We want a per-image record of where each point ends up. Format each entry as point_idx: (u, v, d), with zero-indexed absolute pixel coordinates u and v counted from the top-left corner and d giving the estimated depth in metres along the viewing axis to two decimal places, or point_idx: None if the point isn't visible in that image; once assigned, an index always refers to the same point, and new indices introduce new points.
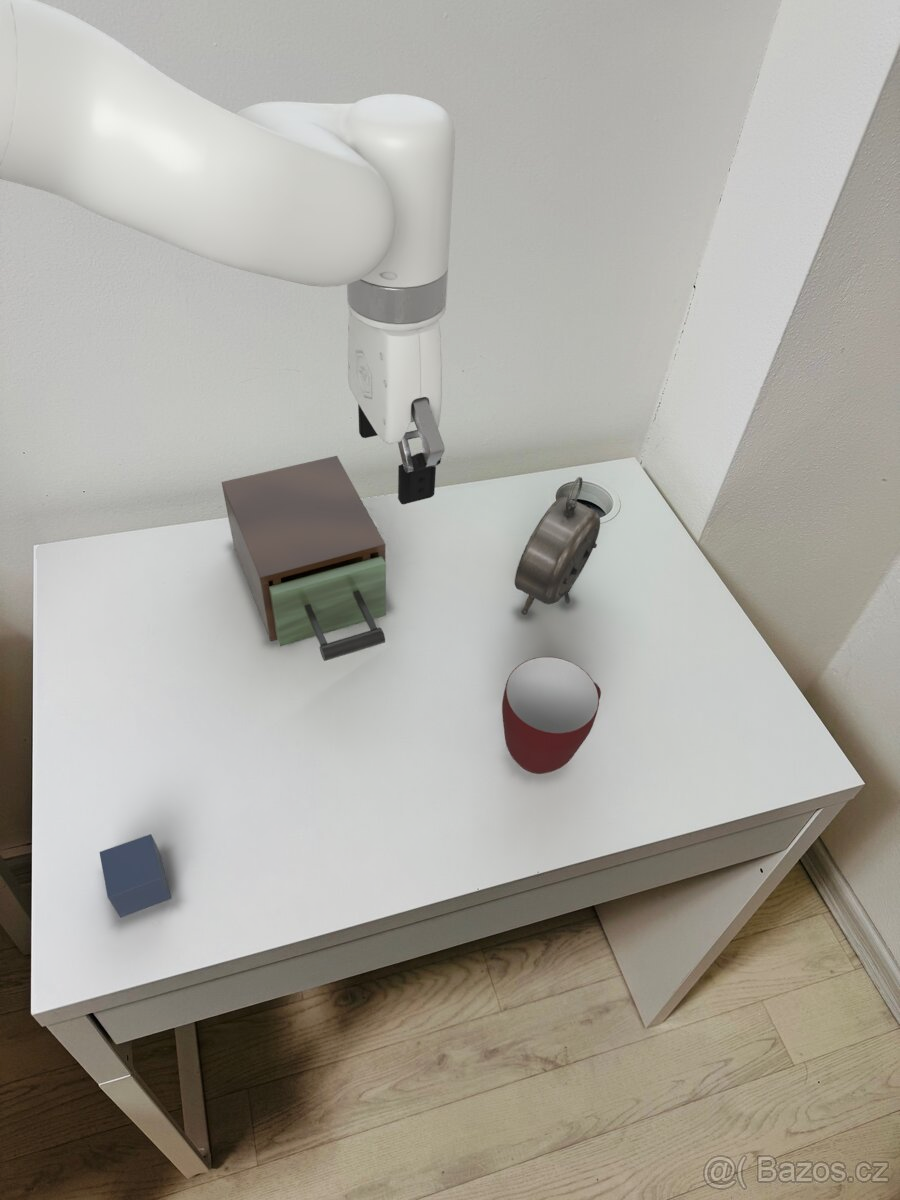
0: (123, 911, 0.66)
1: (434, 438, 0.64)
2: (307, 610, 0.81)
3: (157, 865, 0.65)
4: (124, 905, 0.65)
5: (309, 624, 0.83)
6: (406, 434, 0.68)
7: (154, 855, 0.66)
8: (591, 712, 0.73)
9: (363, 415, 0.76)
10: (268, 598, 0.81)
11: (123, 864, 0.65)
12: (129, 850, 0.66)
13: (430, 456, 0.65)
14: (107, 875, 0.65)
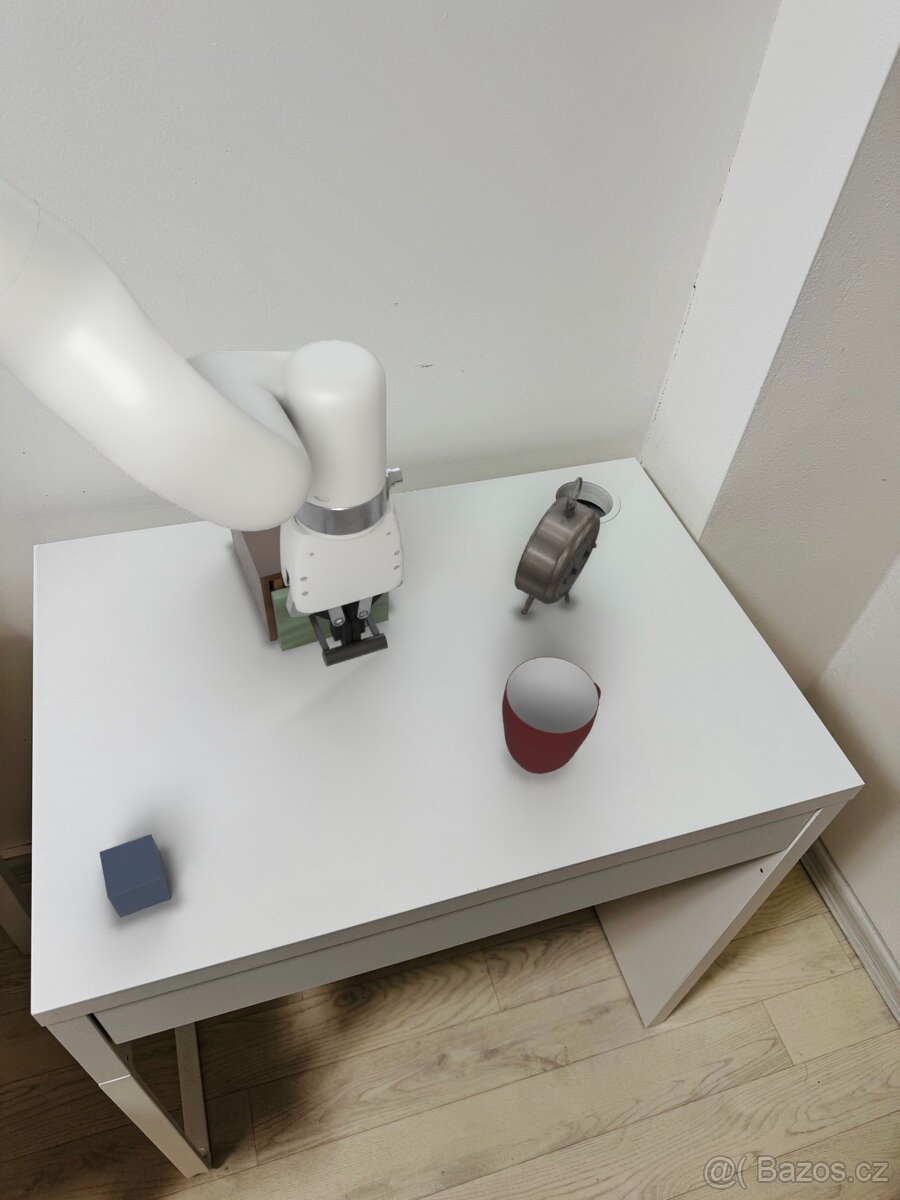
0: (123, 911, 0.66)
1: (289, 605, 0.73)
2: (309, 615, 0.80)
3: (157, 865, 0.65)
4: (124, 905, 0.65)
5: (311, 629, 0.83)
6: None
7: (154, 855, 0.66)
8: (591, 712, 0.73)
9: None
10: (268, 598, 0.81)
11: (123, 864, 0.65)
12: (129, 850, 0.66)
13: None
14: (107, 875, 0.65)
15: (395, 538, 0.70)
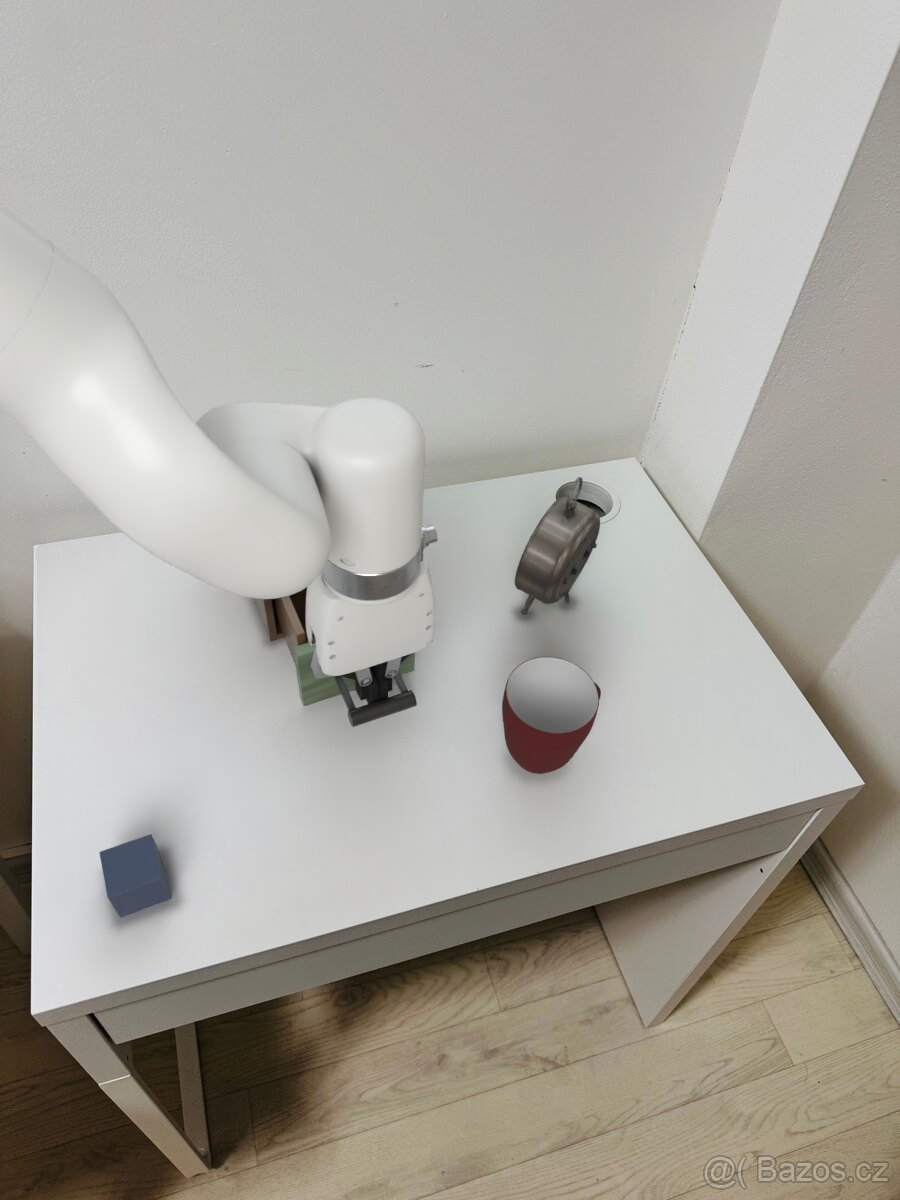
0: (123, 911, 0.66)
1: (314, 666, 0.69)
2: None
3: (157, 865, 0.65)
4: (124, 905, 0.65)
5: (334, 683, 0.79)
6: None
7: (154, 855, 0.66)
8: (591, 712, 0.73)
9: None
10: None
11: (123, 864, 0.65)
12: (129, 850, 0.66)
13: None
14: (107, 875, 0.65)
15: (428, 599, 0.66)
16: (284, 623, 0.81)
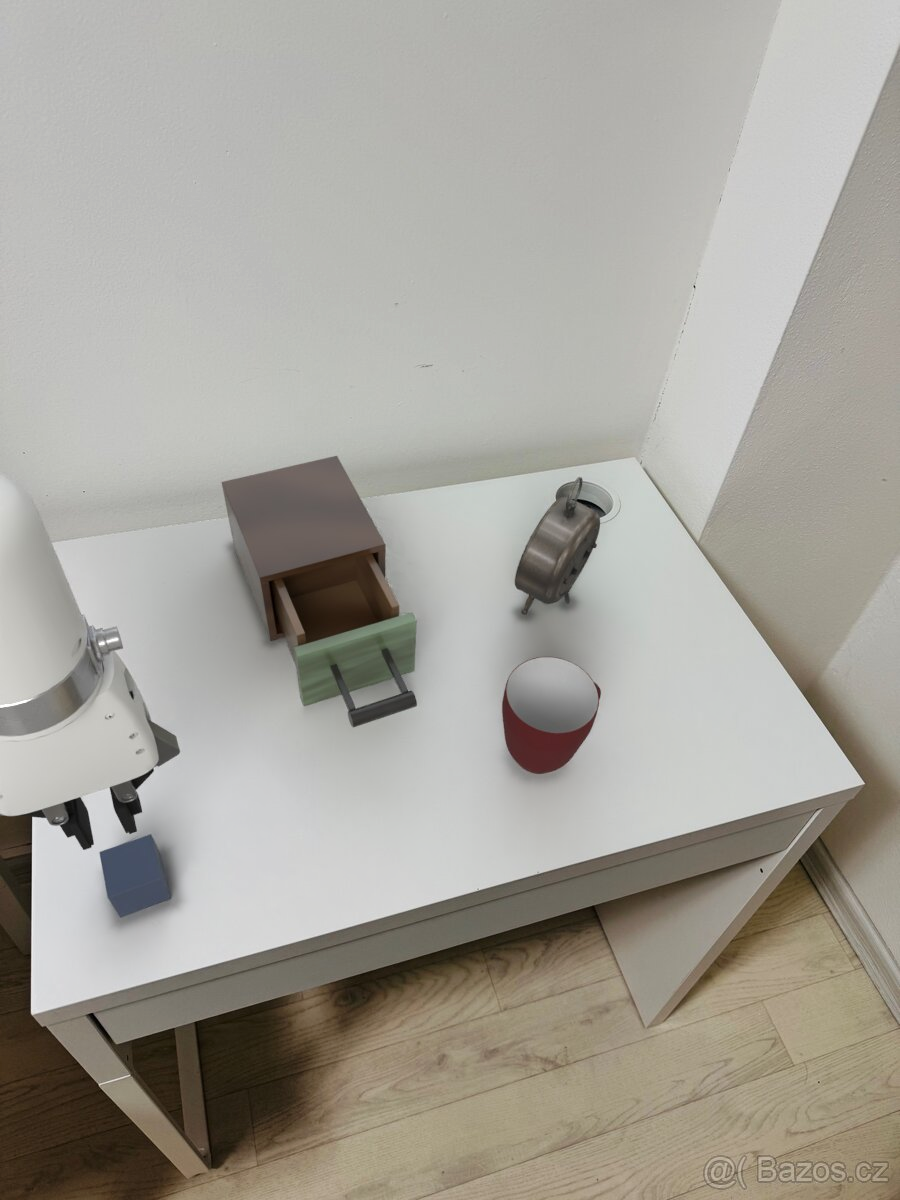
0: (123, 911, 0.66)
1: None
2: (333, 671, 0.76)
3: (157, 865, 0.65)
4: (124, 905, 0.65)
5: (335, 684, 0.79)
6: None
7: (154, 855, 0.66)
8: (591, 712, 0.73)
9: None
10: (268, 598, 0.81)
11: (123, 864, 0.65)
12: (129, 850, 0.66)
13: None
14: (107, 875, 0.65)
15: (123, 720, 0.49)
16: (284, 623, 0.81)
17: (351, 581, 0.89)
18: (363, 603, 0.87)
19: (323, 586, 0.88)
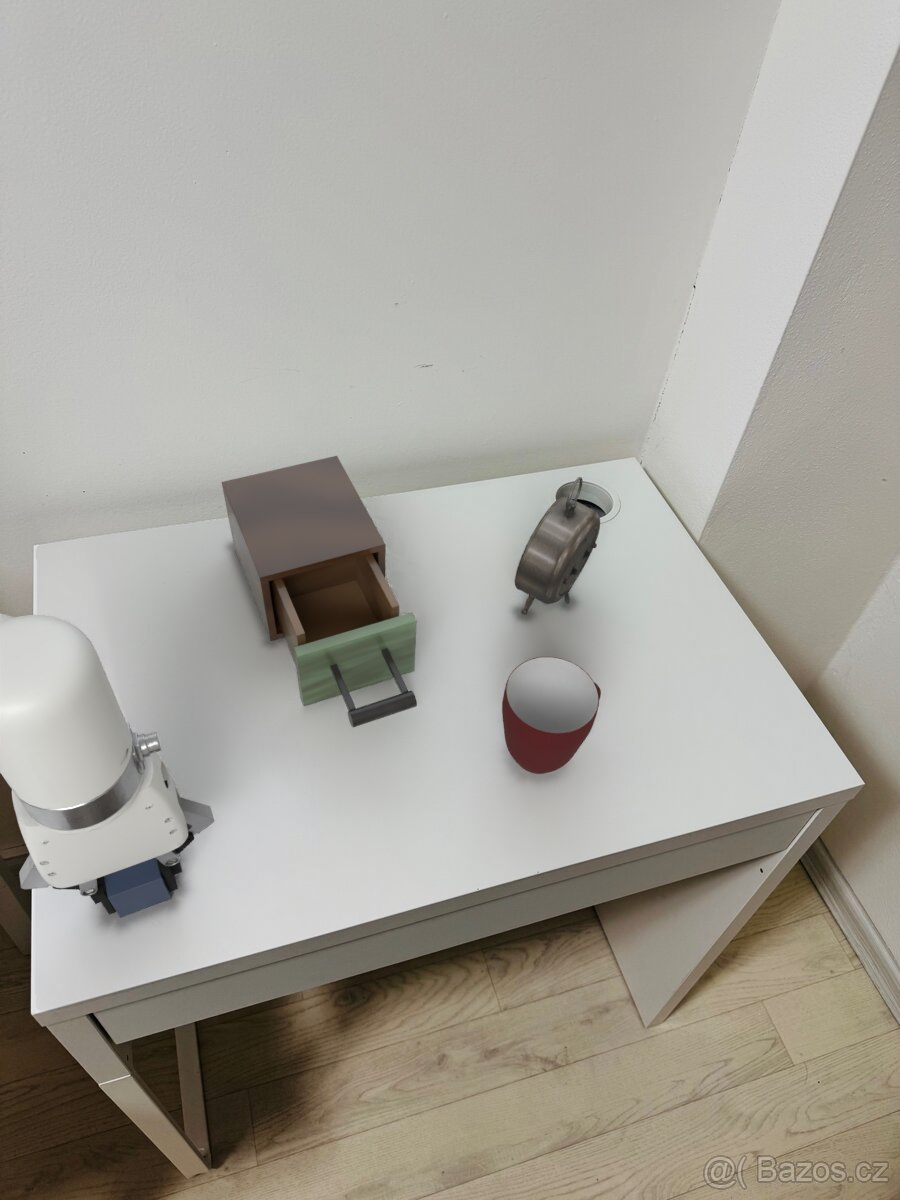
0: (123, 912, 0.66)
1: (22, 875, 0.60)
2: (333, 671, 0.76)
3: (157, 865, 0.65)
4: (124, 905, 0.65)
5: (335, 684, 0.79)
6: None
7: None
8: (591, 712, 0.73)
9: None
10: (268, 598, 0.81)
11: None
12: None
13: None
14: (107, 875, 0.65)
15: (160, 809, 0.58)
16: (284, 623, 0.81)
17: (351, 581, 0.89)
18: (363, 603, 0.87)
19: (323, 586, 0.88)
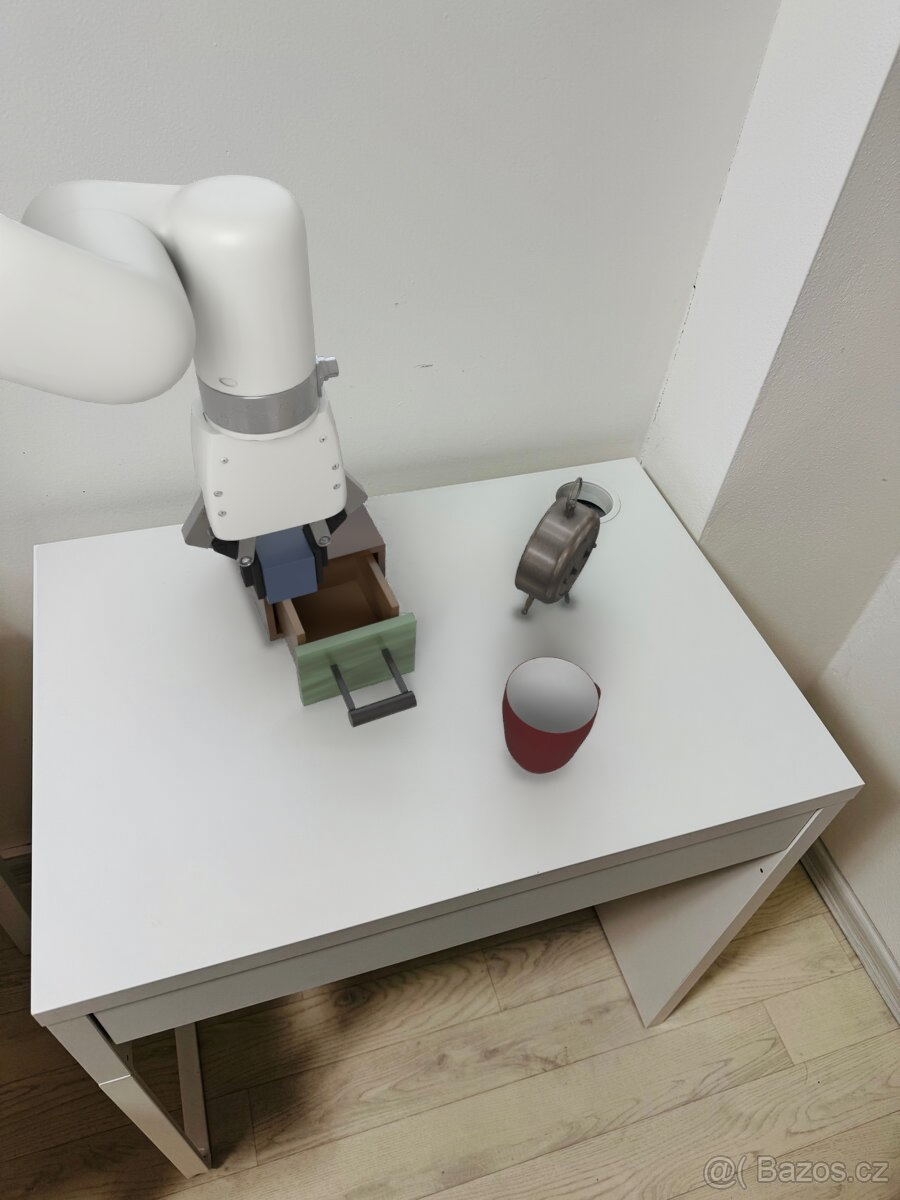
0: (273, 596, 0.66)
1: (186, 528, 0.60)
2: (333, 671, 0.76)
3: (308, 547, 0.65)
4: (275, 587, 0.65)
5: (335, 684, 0.79)
6: None
7: (304, 539, 0.66)
8: (591, 712, 0.73)
9: None
10: None
11: (274, 545, 0.65)
12: (279, 535, 0.66)
13: None
14: (260, 553, 0.64)
15: (331, 447, 0.57)
16: (284, 623, 0.81)
17: (351, 581, 0.89)
18: (363, 603, 0.87)
19: (323, 586, 0.88)
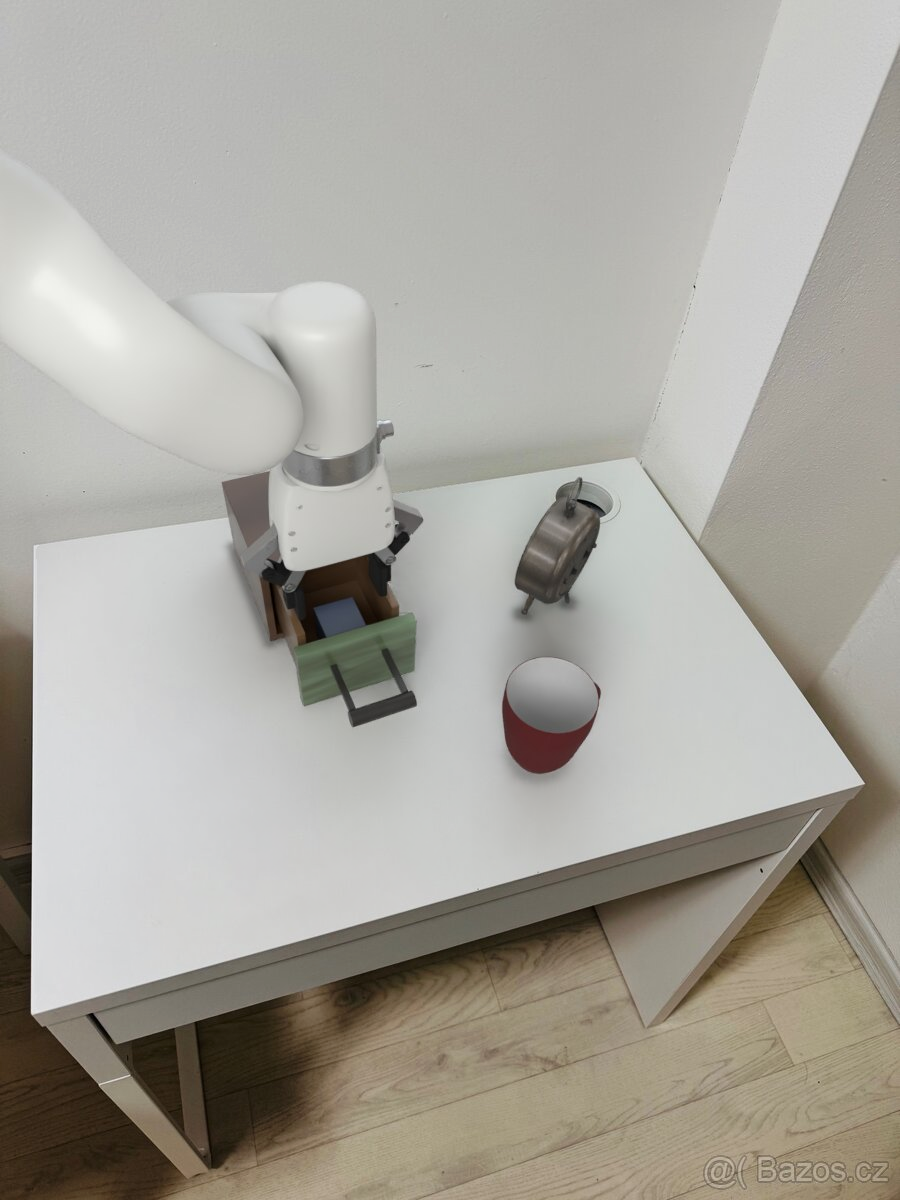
0: None
1: (248, 554, 0.70)
2: (333, 671, 0.76)
3: (361, 617, 0.81)
4: None
5: (335, 684, 0.79)
6: None
7: (358, 610, 0.81)
8: (591, 712, 0.73)
9: (368, 557, 0.78)
10: (268, 598, 0.81)
11: (334, 616, 0.80)
12: (337, 607, 0.81)
13: None
14: (323, 623, 0.80)
15: (386, 494, 0.68)
16: (284, 623, 0.81)
17: (351, 581, 0.89)
18: (363, 603, 0.87)
19: (323, 586, 0.88)
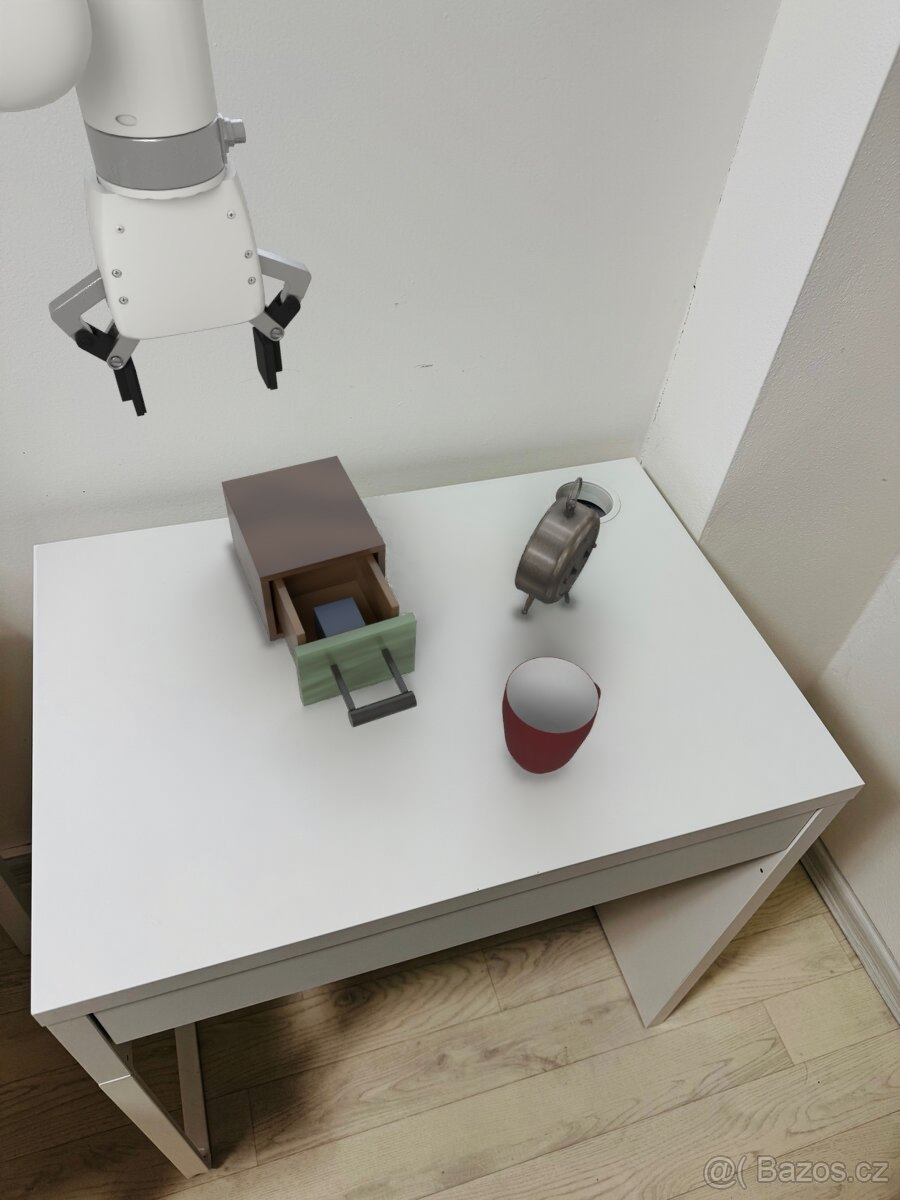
0: None
1: (59, 301, 0.53)
2: (333, 671, 0.76)
3: (361, 617, 0.81)
4: None
5: (335, 684, 0.79)
6: None
7: (358, 610, 0.81)
8: (591, 712, 0.73)
9: (254, 340, 0.63)
10: (268, 598, 0.81)
11: (334, 616, 0.80)
12: (337, 607, 0.81)
13: None
14: (323, 623, 0.80)
15: (242, 228, 0.53)
16: (284, 623, 0.81)
17: (351, 581, 0.89)
18: (363, 603, 0.87)
19: (323, 586, 0.88)
